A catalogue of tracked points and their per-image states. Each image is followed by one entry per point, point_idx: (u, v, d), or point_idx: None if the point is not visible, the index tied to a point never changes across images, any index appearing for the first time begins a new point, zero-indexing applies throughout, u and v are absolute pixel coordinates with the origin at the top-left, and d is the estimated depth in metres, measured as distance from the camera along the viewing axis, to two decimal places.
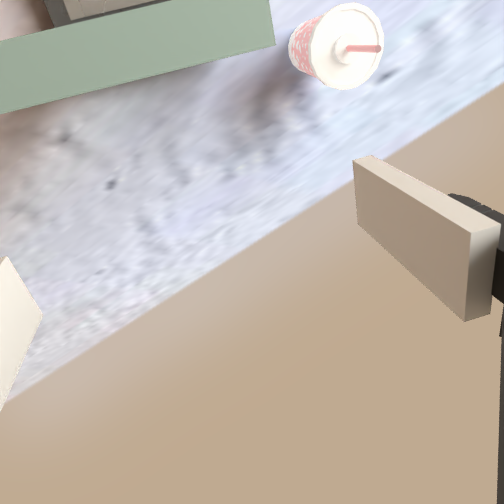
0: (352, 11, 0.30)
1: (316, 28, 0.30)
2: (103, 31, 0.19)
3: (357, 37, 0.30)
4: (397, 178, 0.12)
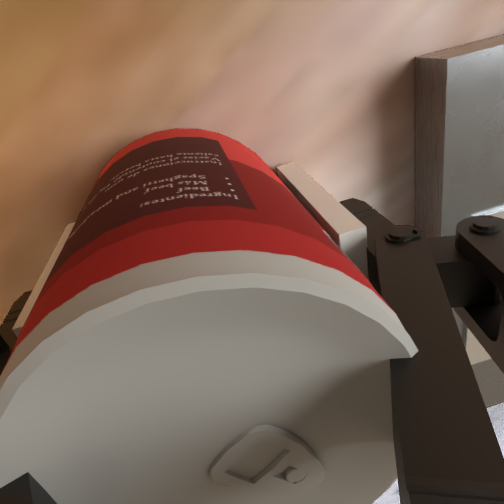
0: None
1: None
2: None
3: None
4: (305, 184, 0.14)
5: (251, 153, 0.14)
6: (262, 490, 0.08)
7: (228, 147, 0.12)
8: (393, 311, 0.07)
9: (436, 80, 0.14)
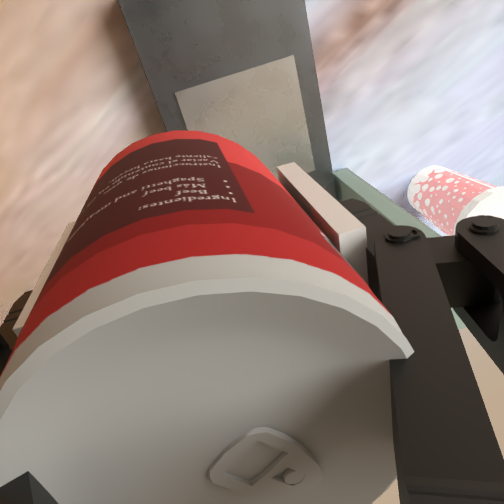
0: (503, 196, 0.30)
1: (467, 215, 0.30)
2: None
3: None
4: (304, 184, 0.14)
5: (250, 155, 0.14)
6: (260, 492, 0.08)
7: (227, 149, 0.12)
8: (390, 314, 0.07)
9: None
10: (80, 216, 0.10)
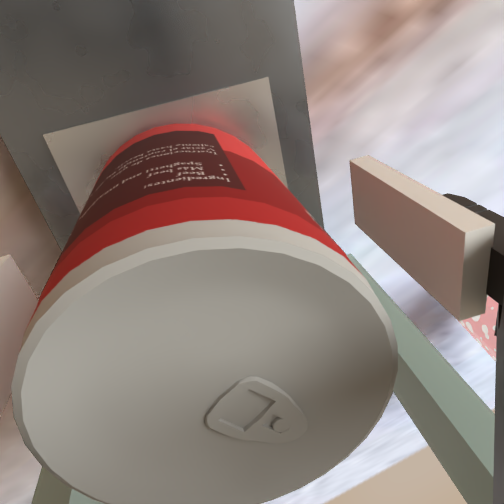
0: None
1: None
2: None
3: None
4: (393, 178, 0.12)
5: (245, 146, 0.15)
6: (252, 438, 0.09)
7: (223, 140, 0.13)
8: (363, 276, 0.08)
9: None
10: (89, 199, 0.11)
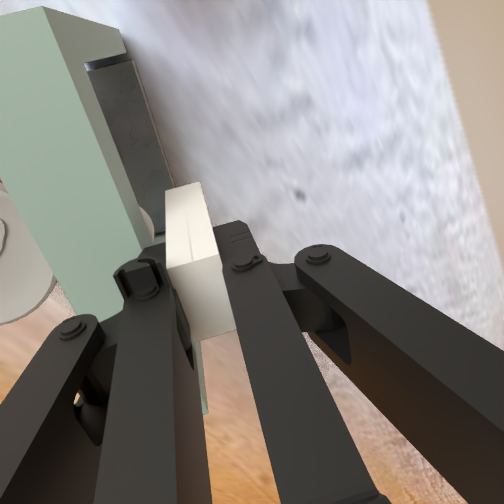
0: None
1: None
2: (86, 297, 0.14)
3: None
4: (194, 206, 0.14)
5: None
6: (0, 243, 0.18)
7: None
8: None
9: None
10: None
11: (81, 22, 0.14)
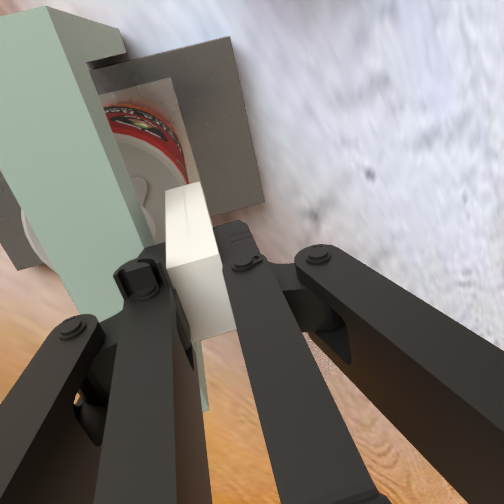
0: None
1: None
2: (88, 294, 0.14)
3: None
4: (194, 206, 0.14)
5: None
6: (140, 204, 0.19)
7: None
8: None
9: None
10: None
11: (83, 22, 0.14)
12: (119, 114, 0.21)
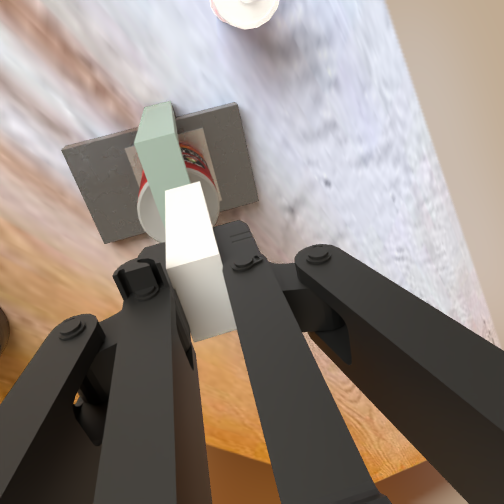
0: None
1: (232, 24, 0.34)
2: None
3: None
4: (194, 206, 0.14)
5: None
6: None
7: None
8: None
9: None
10: None
11: (173, 123, 0.33)
12: None
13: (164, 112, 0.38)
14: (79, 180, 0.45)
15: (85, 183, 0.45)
